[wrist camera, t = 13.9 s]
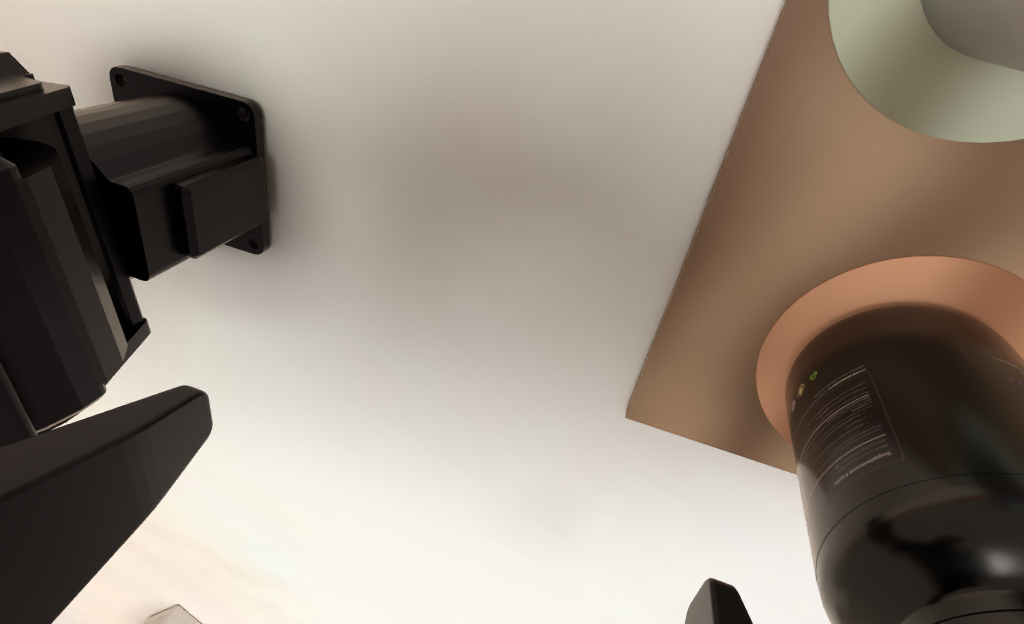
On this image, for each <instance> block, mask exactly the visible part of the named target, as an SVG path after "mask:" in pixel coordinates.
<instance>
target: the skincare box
mask: <svg viewBox="0 0 1024 624" xmlns="http://www.w3.org/2000/svg"><path fill="white" fill-rule="evenodd" d="M143 624H201V623H200V622H199V621H197V620H196V619H195V618H194V617H193V616H191V615H190V614H189V613H188V612H187V611H186V610H184V609H183V608H182V607H181V606H179V605H176V606H174V607H172V608H170V609H168V610H165V611H163V612H161V613H159V614H156V615H154V616H152V617H149V618H148V619H147V620H146V621H145V622H144V623H143Z"/></svg>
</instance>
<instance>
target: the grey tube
mask: <svg viewBox="0 0 1024 624" xmlns="http://www.w3.org/2000/svg"><path fill="white" fill-rule="evenodd" d="M921 3H922V7H923V11H924V14H925V16H926V18H927V21H928V23H929V25H930V26H931V28H932V29H933V31H934V32H935V33H936V35H937V36H938V37H939V38H940V39H941V40H942V41H943V42H944V43H945V44H946V45H948V46H949V47H951V48H952V49H954V50H955V51H957V52H959V53H961V54H963V55H965V56H968V57H971V58H974V59H978V60H981V61H985V62H989V63H992V64H996V65H999V66H1003V67H1007V68H1010V69H1014V70H1018V71H1021V72H1024V0H921Z"/></svg>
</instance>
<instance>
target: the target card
mask: <svg viewBox="0 0 1024 624" xmlns="http://www.w3.org/2000/svg"><path fill="white" fill-rule="evenodd" d="M897 305H924V306H933V307H939V308H944V309H949V310H952V311H956V312H959V313H962V314H965V315H967V316H970V317H972V318H974V319H976V320H978V321H980V322H982V323H984V324H986V325H987V326H989V327H990V328H992V329H993V330H994V331H996V332H997V333H998V334H999V335H1001V336H1002V337H1003V338H1004V339H1005V340H1006V341H1007V342H1008V343H1009V344H1010V345H1011V346H1012V347H1013V348H1014V349H1015V350H1016V352H1017V353H1018V354H1019V355H1020V356H1021V357H1022V358H1023V359H1024V72H1021V71H1018V70H1014V69H1010V68H1007V67H1003V66H999V65H996V64H992V63H989V62H985V61H981V60H978V59H974V58H971V57H968V56H965V55H963V54H961V53H959V52H957V51H955V50H954V49H952V48H951V47H949V46H948V45H946V44H945V43H944V42H943V41H942V40H941V39H940V38H939V37H938V36H937V35H936V33H935V32H934V31H933V29H932V28H931V26H930V25H929V23H928V21H927V18H926V16H925V14H924V11H923V7H922V3H921V0H786V3H785V5H784V8H783V10H782V13H781V15H780V18H779V20H778V23H777V26H776V28H775V31H774V33H773V36H772V38H771V41H770V44H769V46H768V49H767V51H766V54H765V56H764V59H763V61H762V64H761V67H760V69H759V72H758V74H757V77H756V79H755V82H754V85H753V87H752V90H751V92H750V95H749V97H748V100H747V103H746V105H745V108H744V110H743V113H742V115H741V118H740V120H739V123H738V126H737V128H736V131H735V133H734V136H733V138H732V141H731V144H730V146H729V149H728V151H727V154H726V156H725V159H724V161H723V164H722V167H721V169H720V172H719V174H718V177H717V179H716V182H715V185H714V187H713V190H712V192H711V195H710V197H709V200H708V203H707V205H706V208H705V210H704V213H703V215H702V218H701V220H700V223H699V226H698V228H697V231H696V233H695V236H694V238H693V241H692V244H691V246H690V249H689V251H688V254H687V256H686V259H685V262H684V264H683V267H682V269H681V272H680V274H679V277H678V279H677V282H676V285H675V287H674V290H673V292H672V295H671V297H670V300H669V303H668V305H667V308H666V310H665V313H664V315H663V318H662V320H661V323H660V326H659V328H658V331H657V333H656V336H655V338H654V341H653V344H652V346H651V349H650V351H649V354H648V356H647V359H646V362H645V364H644V367H643V369H642V372H641V374H640V377H639V379H638V382H637V385H636V387H635V390H634V392H633V395H632V397H631V400H630V403H629V405H628V408H627V410H626V416H625V418H628V419H631V420H634V421H637V422H640V423H643V424H646V425H649V426H652V427H655V428H658V429H661V430H664V431H667V432H670V433H673V434H676V435H679V436H682V437H685V438H688V439H691V440H694V441H697V442H700V443H703V444H706V445H709V446H712V447H715V448H718V449H721V450H724V451H727V452H730V453H733V454H736V455H739V456H742V457H745V458H748V459H751V460H754V461H757V462H761V463H764V464H767V465H770V466H773V467H776V468H779V469H782V470H785V471H788V472H791V473H794V474H797V469H796V463H795V458H794V452H793V446H792V441H791V435H790V430H789V424H788V417H787V410H786V401H785V389H786V382H787V378H788V375H789V372H790V370H791V367H792V365H793V363H794V361H795V360H796V358H797V356H798V355H799V354H800V352H801V351H802V350H803V348H804V347H805V346H806V345H807V344H808V343H809V342H810V341H811V340H812V339H813V338H815V337H816V336H817V335H818V334H820V333H821V332H822V331H824V330H825V329H827V328H828V327H830V326H831V325H833V324H835V323H837V322H839V321H841V320H843V319H845V318H847V317H850V316H852V315H855V314H858V313H861V312H864V311H868V310H872V309H876V308H881V307H887V306H897Z"/></svg>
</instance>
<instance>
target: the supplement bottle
mask: <svg viewBox="0 0 1024 624" xmlns="http://www.w3.org/2000/svg"><path fill="white" fill-rule="evenodd" d="M785 401H786V410H787V417H788V424H789V430H790V435H791V441H792V446H793V452H794V458H795V463H796V469H797V475H798V480H799V486H800V491H801V497H802V503H803V508H804V514H805V519H806V525H807V531H808V536H809V542H810V547H811V553H812V559H813V564H814V570H815V575H816V580H817V584H818V588H819V592H820V596H821V600H822V604H823V607H824V609H825V612H826V614H827V616H828V618H829V620H830V622H831V623H832V624H1024V359H1023V358H1022V357H1021V356H1020V355H1019V354H1018V353H1017V352H1016V350H1015V349H1014V348H1013V347H1012V346H1011V345H1010V344H1009V343H1008V342H1007V341H1006V340H1005V339H1004V338H1003V337H1002V336H1001V335H999V334H998V333H997V332H996V331H994V330H993V329H992V328H990V327H989V326H987V325H986V324H984V323H982V322H980V321H978V320H976V319H974V318H972V317H970V316H967V315H965V314H962V313H959V312H956V311H952V310H949V309H944V308H939V307H933V306H924V305H897V306H887V307H881V308H876V309H872V310H868V311H864V312H861V313H858V314H855V315H852V316H850V317H847V318H845V319H843V320H841V321H839V322H837V323H835V324H833V325H831V326H830V327H828V328H827V329H825V330H824V331H822V332H821V333H820V334H818V335H817V336H816V337H815V338H813V339H812V340H811V341H810V342H809V343H808V344H807V345H806V346H805V347H804V348H803V350H802V351H801V352H800V354H799V355H798V356H797V358H796V360H795V361H794V363H793V365H792V367H791V370H790V372H789V375H788V378H787V382H786V389H785Z"/></svg>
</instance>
